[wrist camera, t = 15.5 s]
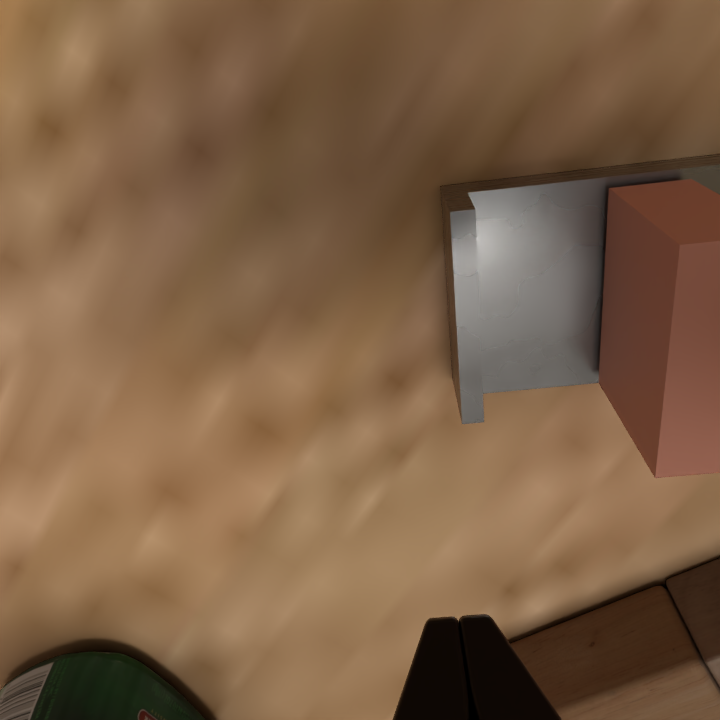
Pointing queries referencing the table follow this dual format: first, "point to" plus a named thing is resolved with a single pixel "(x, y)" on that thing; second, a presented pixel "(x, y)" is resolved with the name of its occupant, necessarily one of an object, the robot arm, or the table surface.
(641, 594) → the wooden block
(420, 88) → the table surface
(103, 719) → the coffee jar
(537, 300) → the vise
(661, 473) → the block
